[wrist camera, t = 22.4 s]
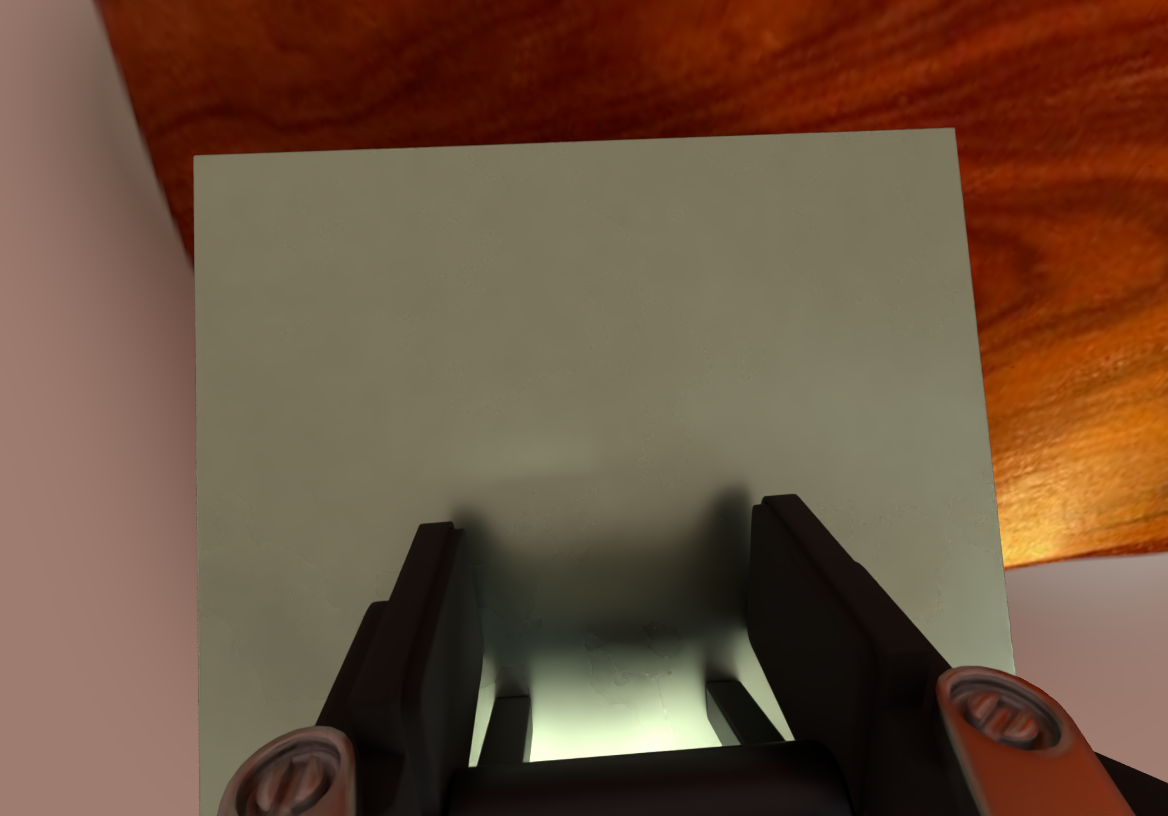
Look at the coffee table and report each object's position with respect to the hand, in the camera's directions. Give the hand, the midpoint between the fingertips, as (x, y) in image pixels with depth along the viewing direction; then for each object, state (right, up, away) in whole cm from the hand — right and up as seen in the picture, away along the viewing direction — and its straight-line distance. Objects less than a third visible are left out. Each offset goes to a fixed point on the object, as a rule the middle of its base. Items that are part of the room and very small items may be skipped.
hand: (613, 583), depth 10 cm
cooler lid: (0, +2, +2) cm, 2 cm away
